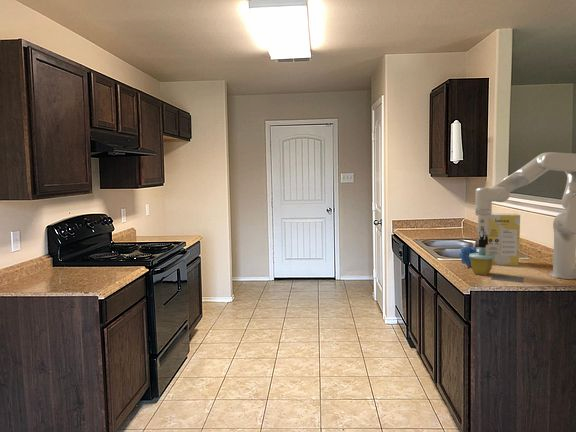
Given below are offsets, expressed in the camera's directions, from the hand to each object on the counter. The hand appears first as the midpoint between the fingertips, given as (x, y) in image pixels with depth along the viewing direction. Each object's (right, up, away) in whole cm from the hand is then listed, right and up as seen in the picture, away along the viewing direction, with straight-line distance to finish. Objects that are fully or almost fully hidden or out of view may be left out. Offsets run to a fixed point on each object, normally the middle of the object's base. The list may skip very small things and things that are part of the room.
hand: (483, 245), depth 241 cm
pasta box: (+22, -12, +30) cm, 39 cm away
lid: (0, -6, +1) cm, 6 cm away
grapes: (+1, -13, +19) cm, 23 cm away
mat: (+8, -16, -10) cm, 20 cm away
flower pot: (0, -15, +2) cm, 15 cm away
